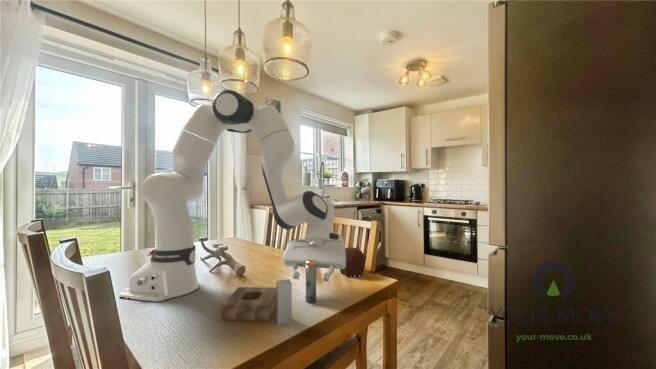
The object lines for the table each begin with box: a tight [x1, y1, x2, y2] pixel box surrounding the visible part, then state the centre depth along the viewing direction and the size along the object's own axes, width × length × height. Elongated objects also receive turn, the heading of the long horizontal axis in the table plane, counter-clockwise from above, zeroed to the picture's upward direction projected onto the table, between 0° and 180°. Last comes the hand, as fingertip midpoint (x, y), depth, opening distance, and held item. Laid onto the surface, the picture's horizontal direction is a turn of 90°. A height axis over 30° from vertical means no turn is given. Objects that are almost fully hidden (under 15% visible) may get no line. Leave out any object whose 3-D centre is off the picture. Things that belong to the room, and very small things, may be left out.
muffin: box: [339, 246, 367, 278], centre depth 104 cm, size 12×11×10 cm
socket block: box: [221, 286, 276, 322], centre depth 74 cm, size 12×12×4 cm
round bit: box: [305, 260, 317, 304], centre depth 80 cm, size 3×3×12 cm
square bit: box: [275, 278, 293, 327], centre depth 68 cm, size 3×3×10 cm
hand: (310, 279), depth 79 cm, fingers open, 8 cm apart
